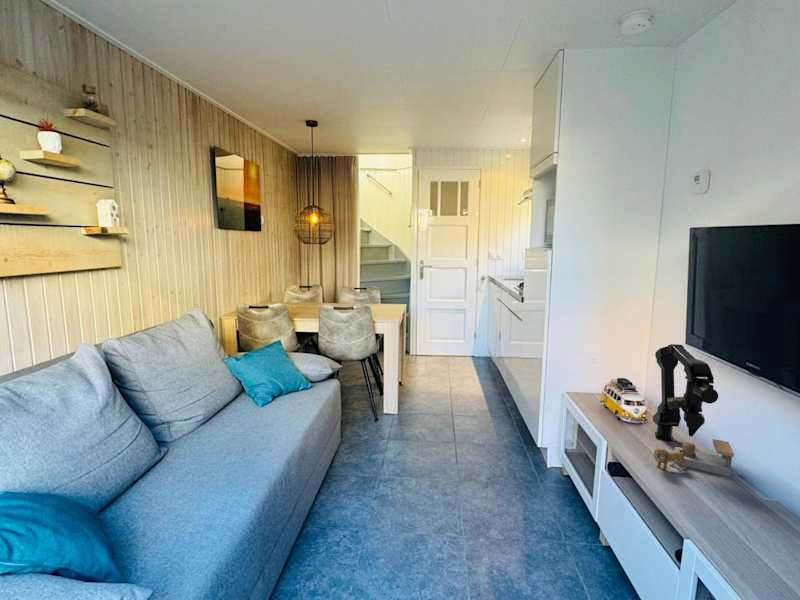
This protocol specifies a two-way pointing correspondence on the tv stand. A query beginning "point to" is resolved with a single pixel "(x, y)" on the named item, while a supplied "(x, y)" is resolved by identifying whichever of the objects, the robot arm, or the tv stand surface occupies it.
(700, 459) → the socket block
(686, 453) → the peg
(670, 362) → the robot arm
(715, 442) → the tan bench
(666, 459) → the lion figurine
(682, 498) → the tv stand surface
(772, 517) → the tv stand surface
